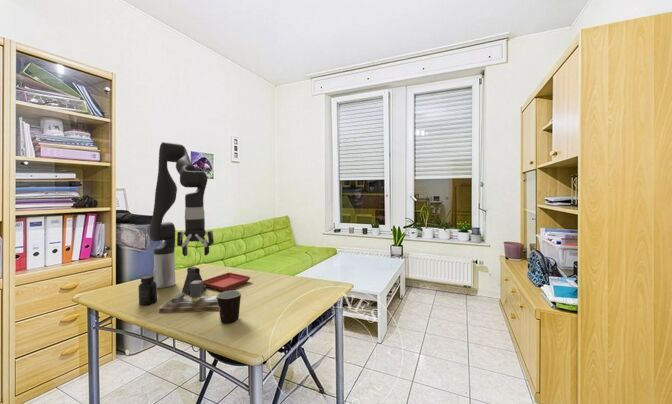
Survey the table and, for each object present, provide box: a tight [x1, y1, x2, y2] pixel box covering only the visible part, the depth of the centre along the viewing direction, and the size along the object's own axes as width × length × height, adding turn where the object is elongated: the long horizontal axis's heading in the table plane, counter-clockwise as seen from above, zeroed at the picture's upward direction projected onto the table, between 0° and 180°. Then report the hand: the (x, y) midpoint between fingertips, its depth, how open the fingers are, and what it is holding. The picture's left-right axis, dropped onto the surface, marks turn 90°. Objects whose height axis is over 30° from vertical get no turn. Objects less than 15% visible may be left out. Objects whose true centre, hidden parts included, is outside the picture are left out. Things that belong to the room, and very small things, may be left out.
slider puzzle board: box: [158, 292, 219, 313], centre depth 124 cm, size 28×13×4 cm, turn 95°
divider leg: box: [189, 279, 205, 302], centre depth 124 cm, size 4×7×8 cm, turn 5°
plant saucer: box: [203, 272, 252, 292], centre depth 152 cm, size 18×18×3 cm
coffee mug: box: [216, 290, 242, 325], centre depth 108 cm, size 12×9×10 cm
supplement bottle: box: [137, 274, 158, 307], centre depth 126 cm, size 7×7×12 cm
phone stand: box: [181, 266, 207, 296], centre depth 141 cm, size 9×6×12 cm, turn 146°
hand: (195, 255), depth 122 cm, fingers open, 8 cm apart
